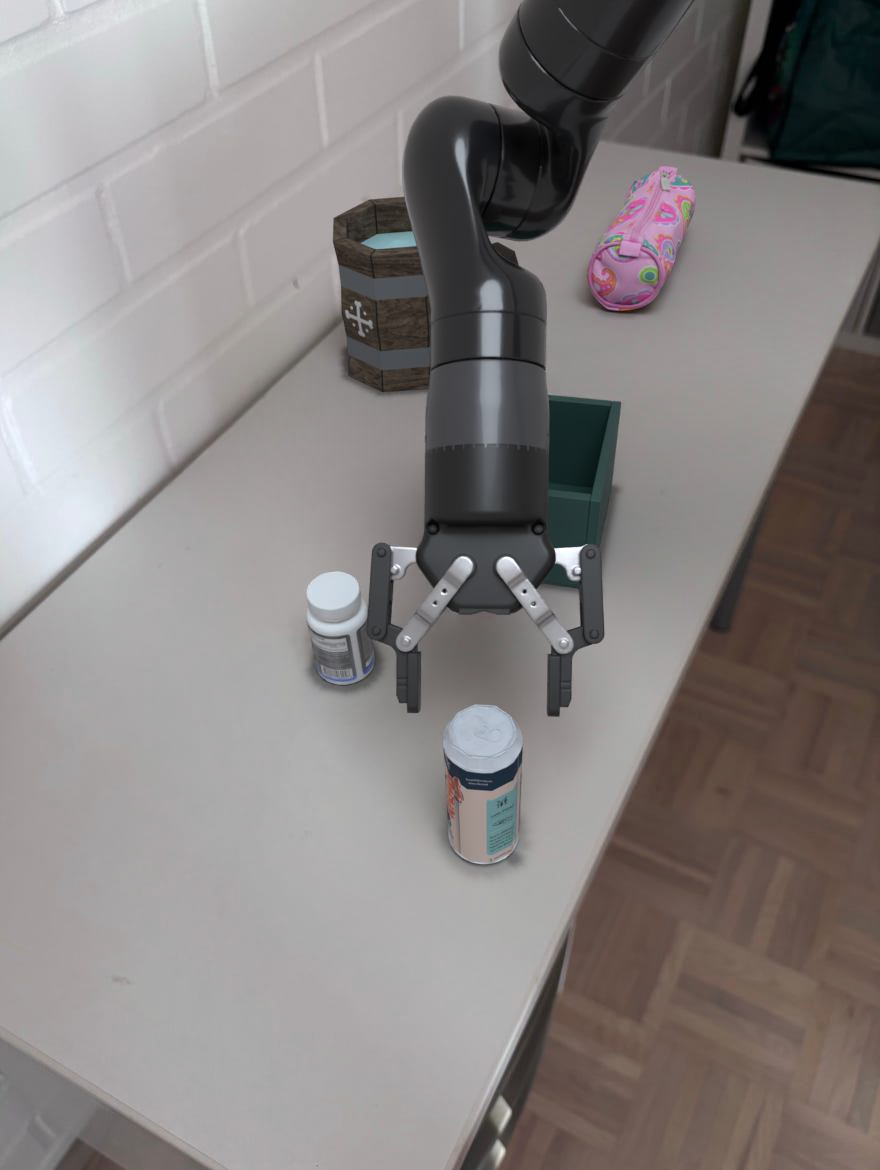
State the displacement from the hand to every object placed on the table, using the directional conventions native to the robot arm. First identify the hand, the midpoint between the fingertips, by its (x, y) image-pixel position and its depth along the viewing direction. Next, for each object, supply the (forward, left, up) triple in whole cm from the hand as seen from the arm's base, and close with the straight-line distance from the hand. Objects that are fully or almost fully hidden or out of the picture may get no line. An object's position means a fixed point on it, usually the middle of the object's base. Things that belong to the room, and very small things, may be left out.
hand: (483, 713), depth 60 cm
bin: (+3, -30, -11) cm, 32 cm away
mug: (+18, -55, -11) cm, 59 cm away
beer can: (0, +2, -11) cm, 11 cm away
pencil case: (-2, -78, -11) cm, 79 cm away
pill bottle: (+14, -11, -11) cm, 21 cm away
